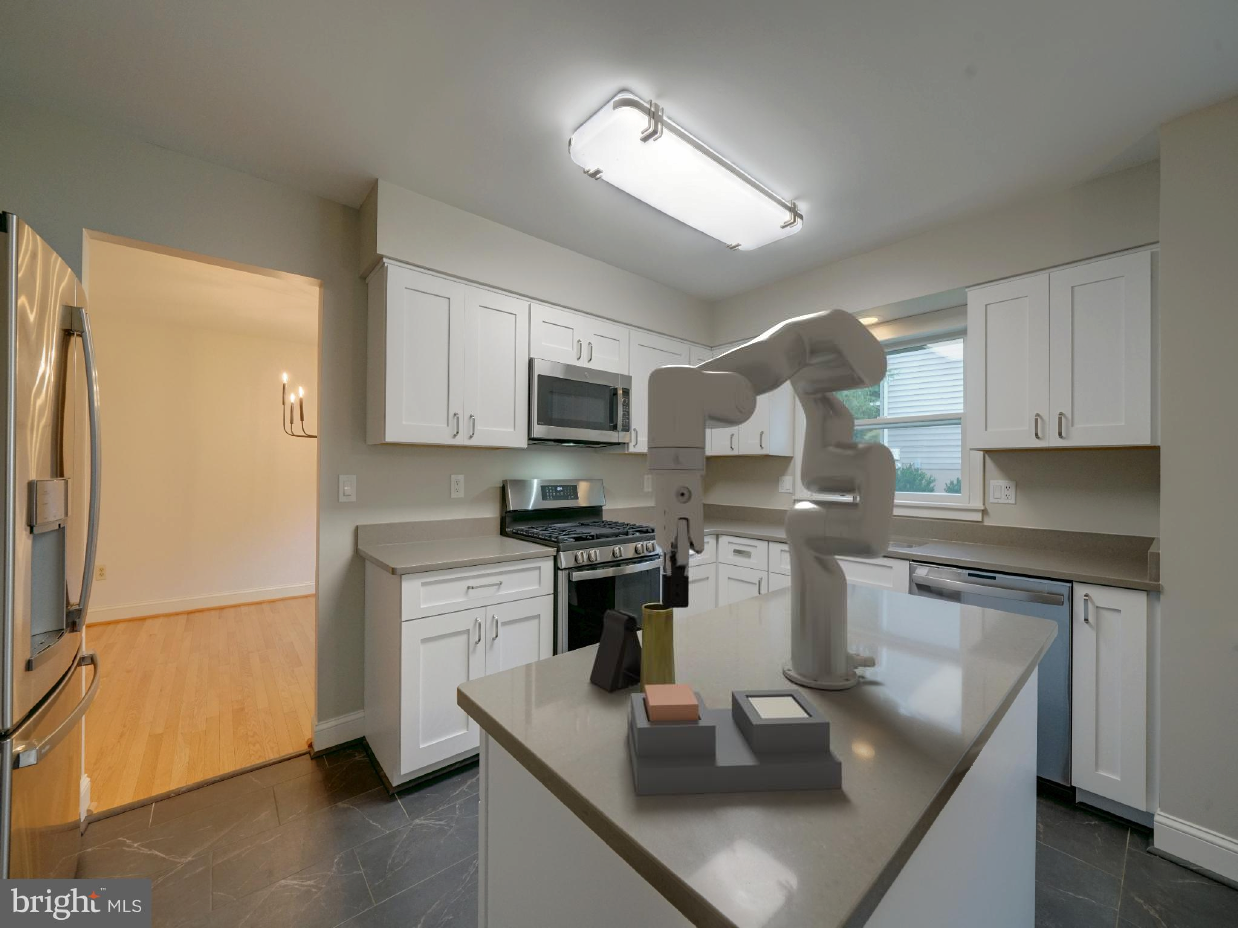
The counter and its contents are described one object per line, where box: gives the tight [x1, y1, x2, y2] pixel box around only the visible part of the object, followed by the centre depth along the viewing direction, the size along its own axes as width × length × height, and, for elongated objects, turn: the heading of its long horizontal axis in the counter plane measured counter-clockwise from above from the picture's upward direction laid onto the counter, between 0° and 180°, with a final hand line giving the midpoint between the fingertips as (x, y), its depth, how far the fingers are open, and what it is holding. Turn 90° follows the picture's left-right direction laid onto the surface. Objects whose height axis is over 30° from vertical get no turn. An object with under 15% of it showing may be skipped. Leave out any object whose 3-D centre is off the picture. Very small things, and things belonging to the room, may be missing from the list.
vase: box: [638, 602, 676, 693], centre depth 85 cm, size 6×6×14 cm
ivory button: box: [748, 697, 809, 718], centre depth 66 cm, size 6×6×3 cm
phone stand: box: [589, 608, 642, 694], centre depth 90 cm, size 9×6×12 cm, turn 127°
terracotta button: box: [645, 683, 699, 722], centre depth 65 cm, size 6×6×3 cm
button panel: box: [627, 688, 843, 796], centre depth 66 cm, size 24×14×6 cm, turn 93°
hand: (675, 605), depth 65 cm, fingers closed
